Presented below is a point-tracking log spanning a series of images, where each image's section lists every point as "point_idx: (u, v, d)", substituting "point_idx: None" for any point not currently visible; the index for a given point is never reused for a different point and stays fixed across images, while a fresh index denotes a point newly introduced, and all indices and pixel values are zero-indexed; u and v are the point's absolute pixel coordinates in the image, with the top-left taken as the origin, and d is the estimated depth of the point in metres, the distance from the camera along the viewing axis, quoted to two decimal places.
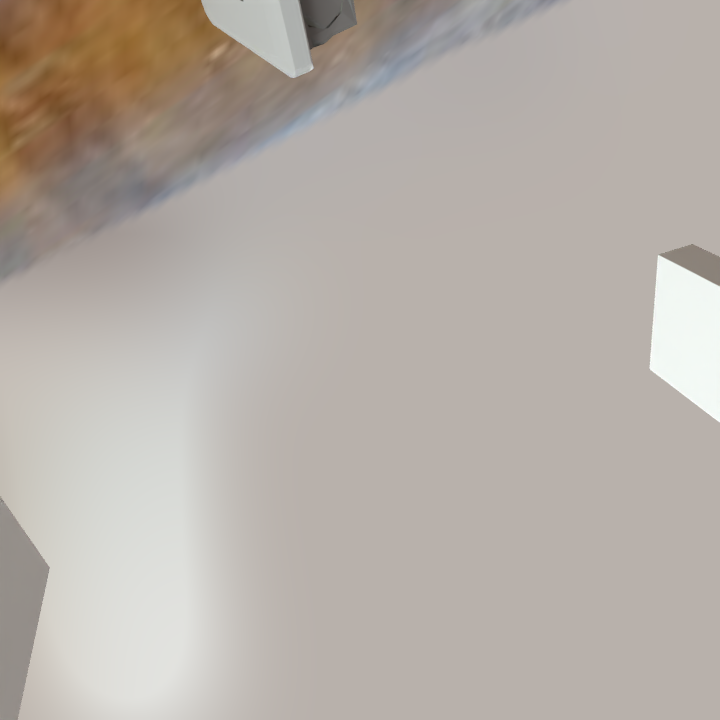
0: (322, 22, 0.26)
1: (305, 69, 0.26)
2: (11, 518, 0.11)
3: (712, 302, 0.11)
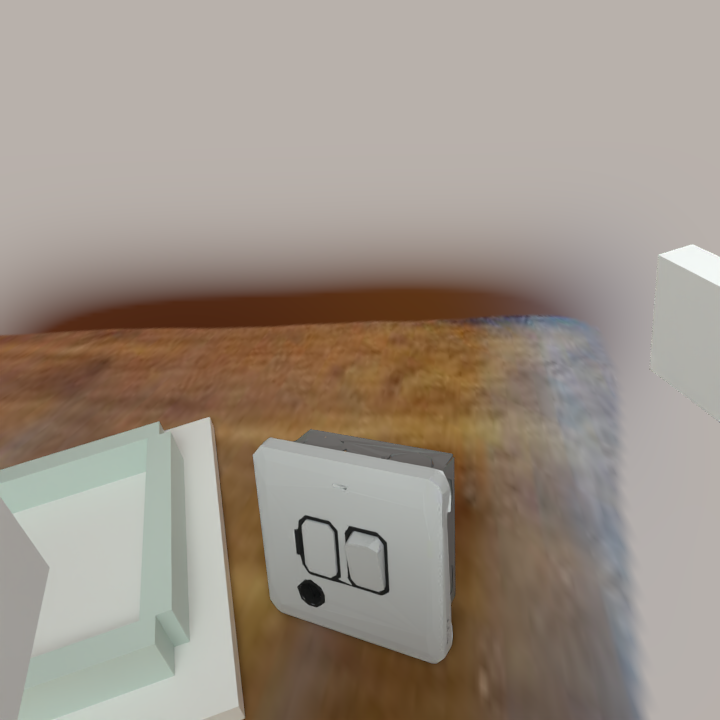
0: None
1: (437, 476, 0.25)
2: (12, 518, 0.11)
3: (712, 302, 0.11)
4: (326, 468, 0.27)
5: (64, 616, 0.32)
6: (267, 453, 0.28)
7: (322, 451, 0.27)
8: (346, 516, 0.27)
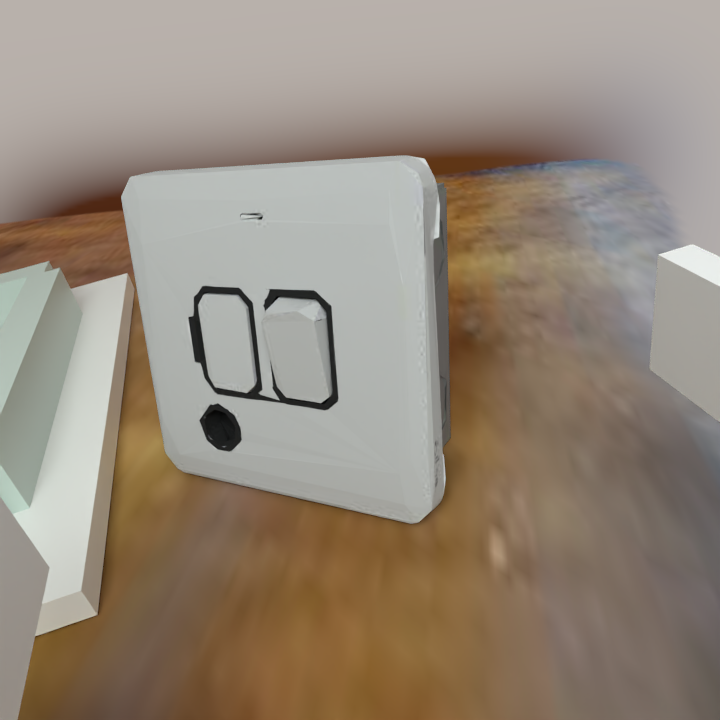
0: None
1: (415, 162, 0.14)
2: (12, 518, 0.11)
3: (712, 302, 0.11)
4: (230, 188, 0.16)
5: None
6: (142, 189, 0.17)
7: (226, 168, 0.16)
8: (265, 272, 0.16)
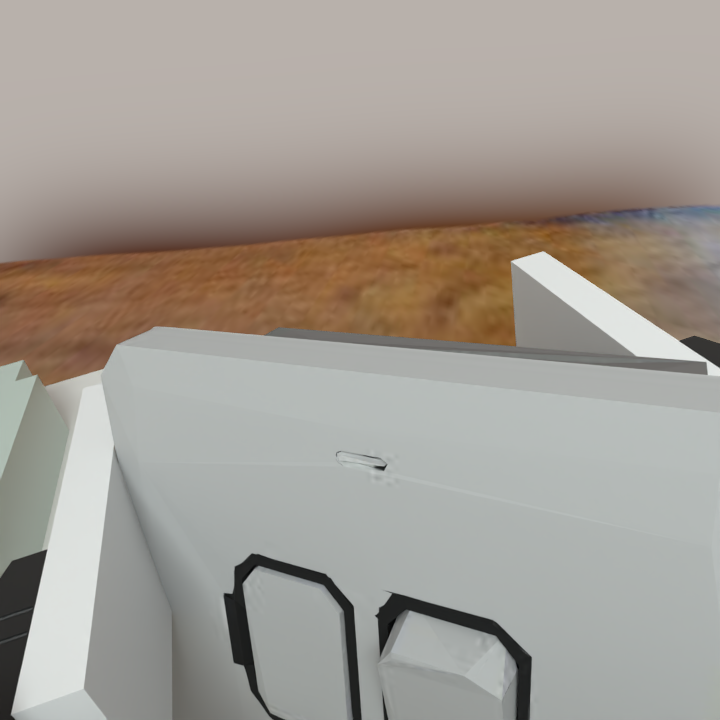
0: None
1: None
2: None
3: (547, 305, 0.12)
4: (316, 399, 0.08)
5: None
6: (138, 367, 0.09)
7: (304, 348, 0.08)
8: (383, 560, 0.08)
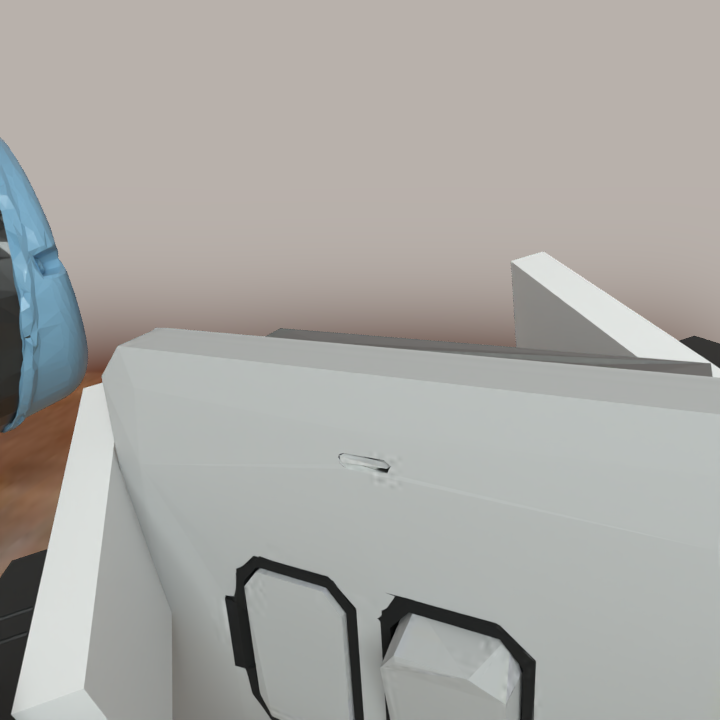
0: None
1: None
2: None
3: (547, 306, 0.12)
4: (318, 401, 0.08)
5: None
6: (139, 368, 0.09)
7: (307, 349, 0.08)
8: (386, 562, 0.08)
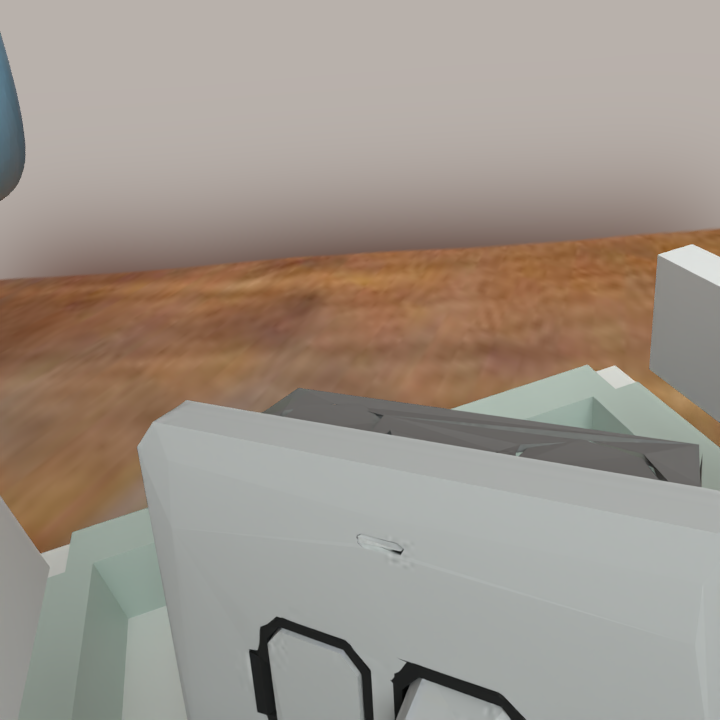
0: None
1: None
2: (12, 517, 0.11)
3: (712, 302, 0.11)
4: (338, 486, 0.09)
5: None
6: (172, 442, 0.10)
7: (328, 435, 0.09)
8: (398, 631, 0.09)
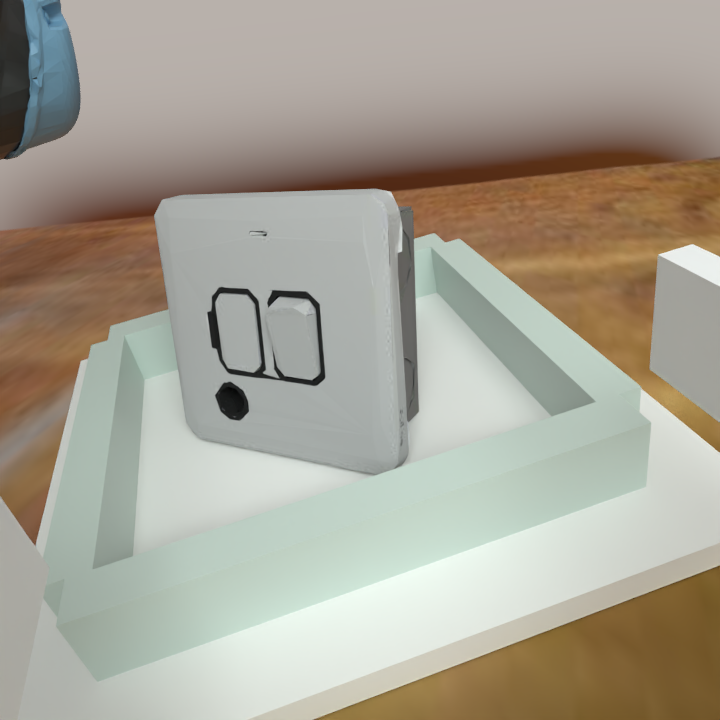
0: None
1: (383, 194, 0.18)
2: (11, 518, 0.11)
3: (712, 302, 0.11)
4: (241, 211, 0.20)
5: None
6: (171, 209, 0.22)
7: (239, 194, 0.21)
8: (268, 277, 0.20)
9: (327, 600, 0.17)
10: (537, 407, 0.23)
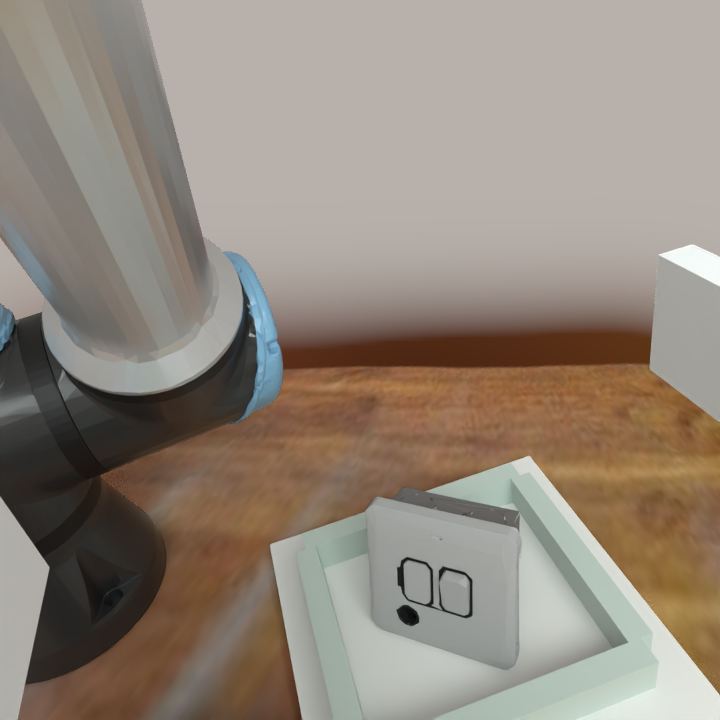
0: (499, 523, 0.36)
1: (513, 532, 0.34)
2: (12, 518, 0.11)
3: (712, 303, 0.11)
4: (426, 523, 0.36)
5: None
6: (377, 510, 0.37)
7: (422, 510, 0.36)
8: (440, 558, 0.36)
9: None
10: (589, 619, 0.38)
